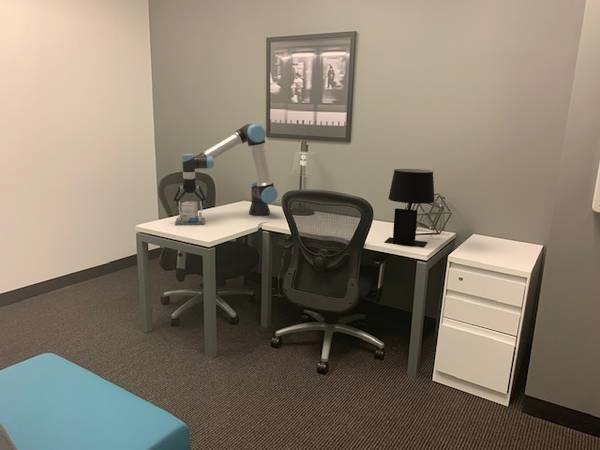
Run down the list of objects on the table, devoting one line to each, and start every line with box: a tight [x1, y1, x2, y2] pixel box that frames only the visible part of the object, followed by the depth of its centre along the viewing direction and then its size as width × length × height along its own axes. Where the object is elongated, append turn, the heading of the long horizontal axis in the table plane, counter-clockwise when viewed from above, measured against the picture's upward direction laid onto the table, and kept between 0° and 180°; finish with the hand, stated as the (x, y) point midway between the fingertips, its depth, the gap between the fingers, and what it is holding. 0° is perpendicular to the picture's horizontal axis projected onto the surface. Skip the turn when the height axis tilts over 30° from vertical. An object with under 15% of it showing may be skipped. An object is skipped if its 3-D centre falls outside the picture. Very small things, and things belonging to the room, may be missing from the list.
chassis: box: [174, 211, 205, 226], centre depth 293 cm, size 18×16×6 cm
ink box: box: [180, 201, 199, 222], centre depth 292 cm, size 8×8×12 cm
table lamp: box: [383, 168, 435, 248], centre depth 256 cm, size 26×28×40 cm
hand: (190, 211), depth 292 cm, fingers open, 13 cm apart
